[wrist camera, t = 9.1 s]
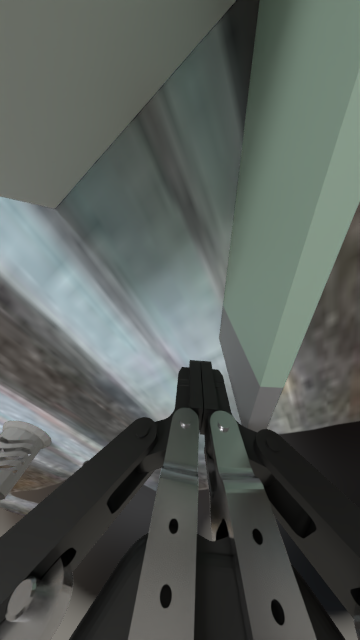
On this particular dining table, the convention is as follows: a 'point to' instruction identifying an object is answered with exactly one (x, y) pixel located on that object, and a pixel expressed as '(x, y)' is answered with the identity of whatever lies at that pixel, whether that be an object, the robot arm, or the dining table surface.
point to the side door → (290, 191)
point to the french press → (18, 451)
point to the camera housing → (83, 81)
